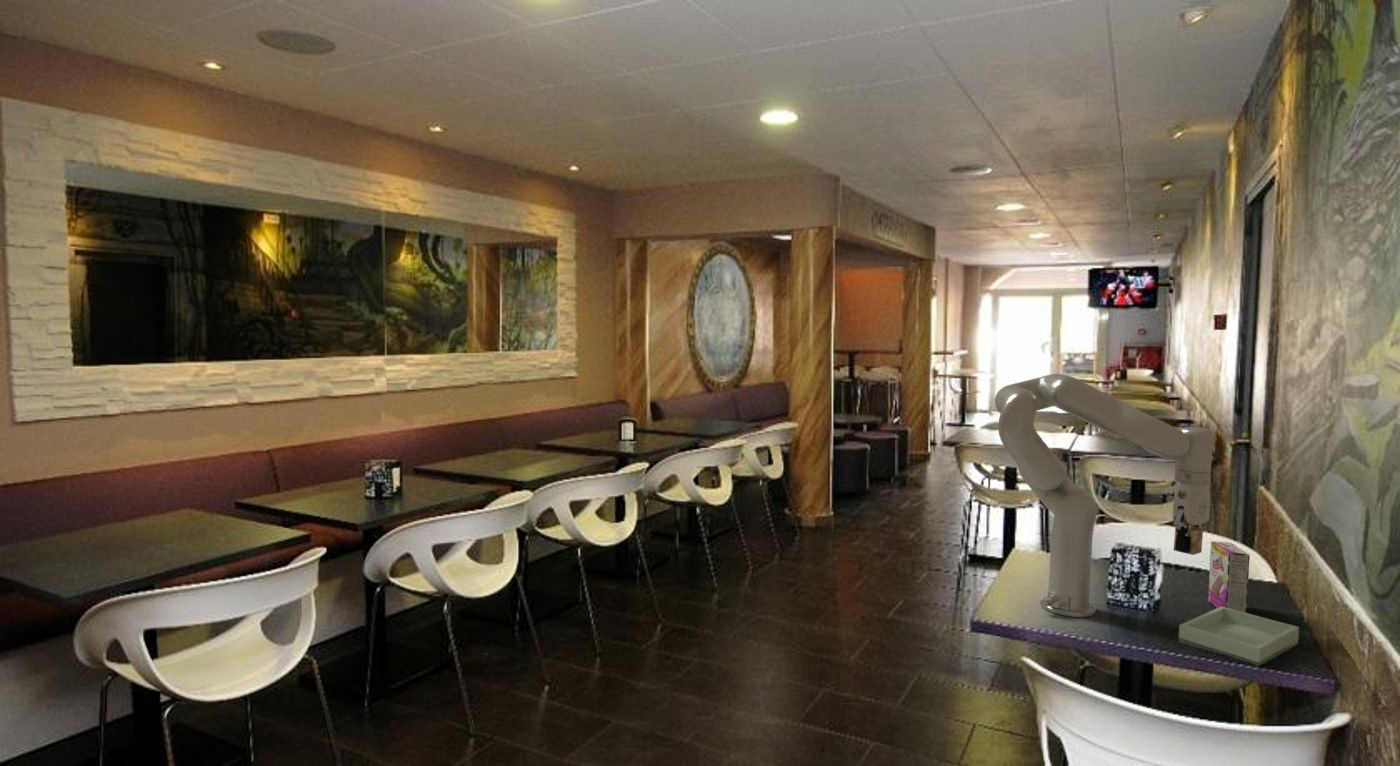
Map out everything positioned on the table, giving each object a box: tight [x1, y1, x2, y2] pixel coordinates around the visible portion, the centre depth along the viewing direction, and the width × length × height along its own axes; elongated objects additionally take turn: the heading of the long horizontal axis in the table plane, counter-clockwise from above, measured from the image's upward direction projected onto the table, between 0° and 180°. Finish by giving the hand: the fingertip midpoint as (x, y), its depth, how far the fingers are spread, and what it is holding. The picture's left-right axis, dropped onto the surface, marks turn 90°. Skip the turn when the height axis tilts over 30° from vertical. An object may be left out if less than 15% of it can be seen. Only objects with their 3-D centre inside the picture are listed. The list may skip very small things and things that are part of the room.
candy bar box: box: [1207, 540, 1251, 613], centre depth 204 cm, size 11×5×16 cm, turn 168°
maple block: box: [1173, 525, 1204, 556], centre depth 198 cm, size 4×4×6 cm
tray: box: [1178, 606, 1300, 667], centre depth 183 cm, size 22×16×4 cm
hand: (1187, 548), depth 198 cm, fingers closed on maple block, 4 cm apart
